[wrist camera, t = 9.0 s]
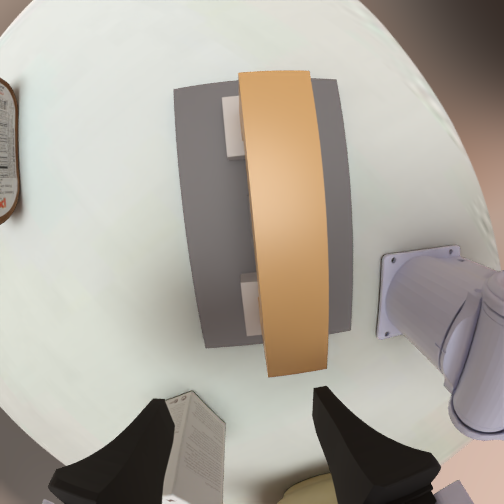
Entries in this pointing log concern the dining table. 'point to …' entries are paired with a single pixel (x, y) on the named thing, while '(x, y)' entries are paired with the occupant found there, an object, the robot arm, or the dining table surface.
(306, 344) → the frame
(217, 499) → the skincare box
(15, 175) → the tin
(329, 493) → the beige sack vase
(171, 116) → the dining table surface
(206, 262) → the stand
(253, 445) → the dining table surface
